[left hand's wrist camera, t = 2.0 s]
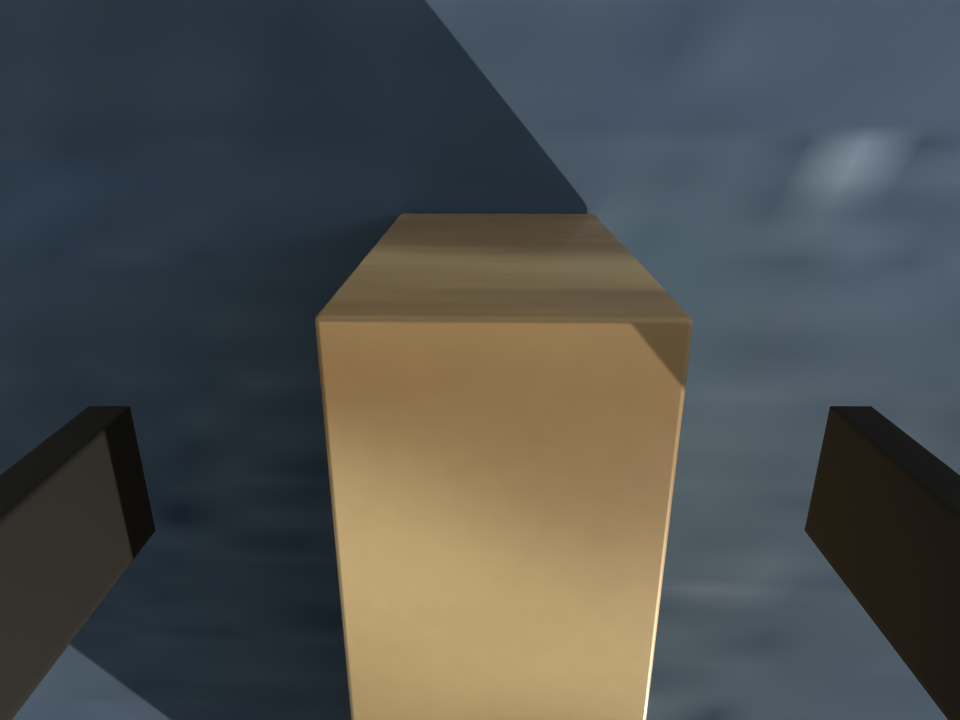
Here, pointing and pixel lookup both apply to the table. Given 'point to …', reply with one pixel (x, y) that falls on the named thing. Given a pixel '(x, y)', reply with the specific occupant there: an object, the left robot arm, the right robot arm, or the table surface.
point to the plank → (501, 467)
